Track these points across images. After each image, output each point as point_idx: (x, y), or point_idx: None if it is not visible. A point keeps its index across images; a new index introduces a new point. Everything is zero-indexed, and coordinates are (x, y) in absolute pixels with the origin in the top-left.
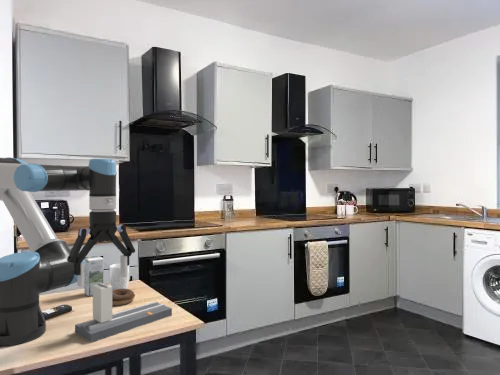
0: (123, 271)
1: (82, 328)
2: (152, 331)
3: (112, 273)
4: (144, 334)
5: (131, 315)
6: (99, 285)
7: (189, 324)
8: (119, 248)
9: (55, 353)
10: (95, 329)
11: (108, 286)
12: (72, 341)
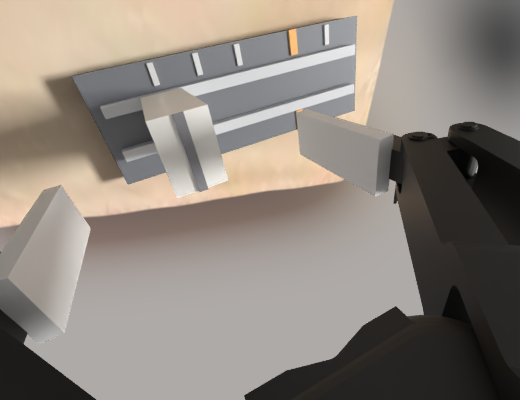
0: (314, 148)
1: (102, 128)
2: (268, 177)
3: None
4: (250, 185)
5: (255, 122)
6: (179, 136)
7: (335, 177)
8: (409, 207)
9: (26, 200)
10: (142, 158)
11: (213, 175)
12: (72, 143)
